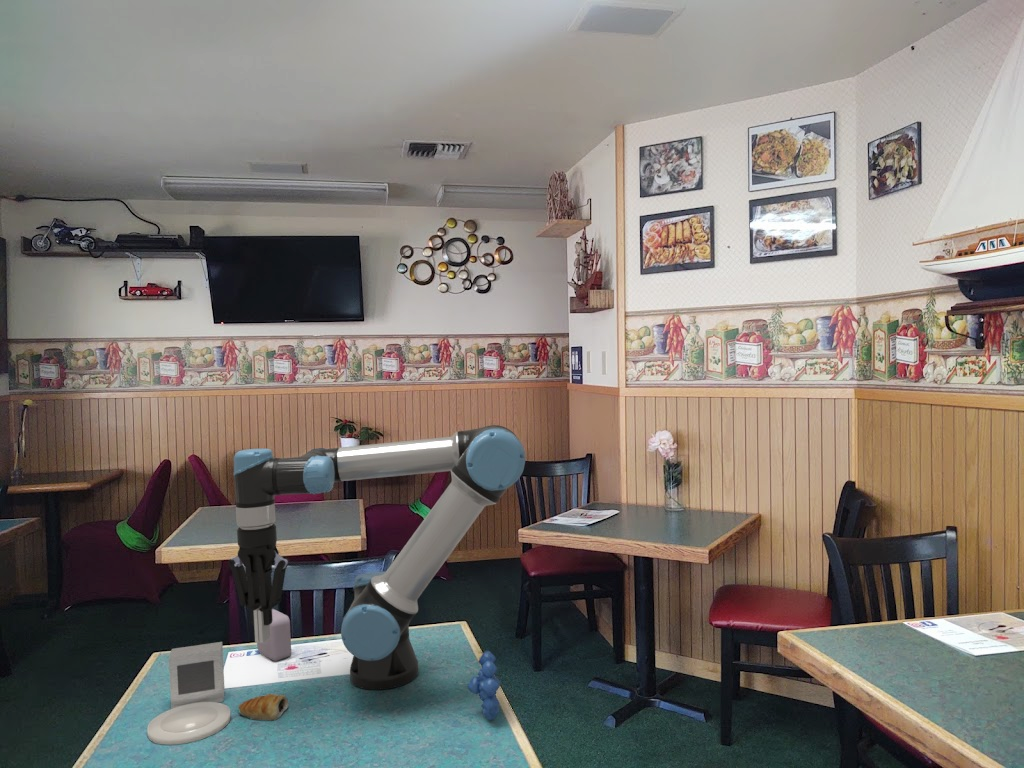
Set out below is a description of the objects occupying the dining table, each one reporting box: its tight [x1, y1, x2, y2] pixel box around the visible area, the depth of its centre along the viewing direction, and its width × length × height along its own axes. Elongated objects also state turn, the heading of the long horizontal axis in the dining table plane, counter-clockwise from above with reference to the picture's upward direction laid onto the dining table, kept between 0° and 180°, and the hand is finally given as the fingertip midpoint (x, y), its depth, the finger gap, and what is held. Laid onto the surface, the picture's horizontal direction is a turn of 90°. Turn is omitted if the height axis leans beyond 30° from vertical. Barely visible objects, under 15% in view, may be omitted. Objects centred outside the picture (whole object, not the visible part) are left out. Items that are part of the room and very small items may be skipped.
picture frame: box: [168, 641, 226, 709], centre depth 157 cm, size 10×6×11 cm, turn 108°
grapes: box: [466, 650, 502, 721], centre depth 146 cm, size 12×7×12 cm, turn 6°
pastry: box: [238, 693, 289, 721], centre depth 151 cm, size 9×7×4 cm
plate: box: [146, 702, 231, 746], centre depth 146 cm, size 15×15×1 cm
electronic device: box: [256, 608, 292, 662], centre depth 181 cm, size 10×5×10 cm, turn 43°
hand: (262, 640), depth 152 cm, fingers closed
